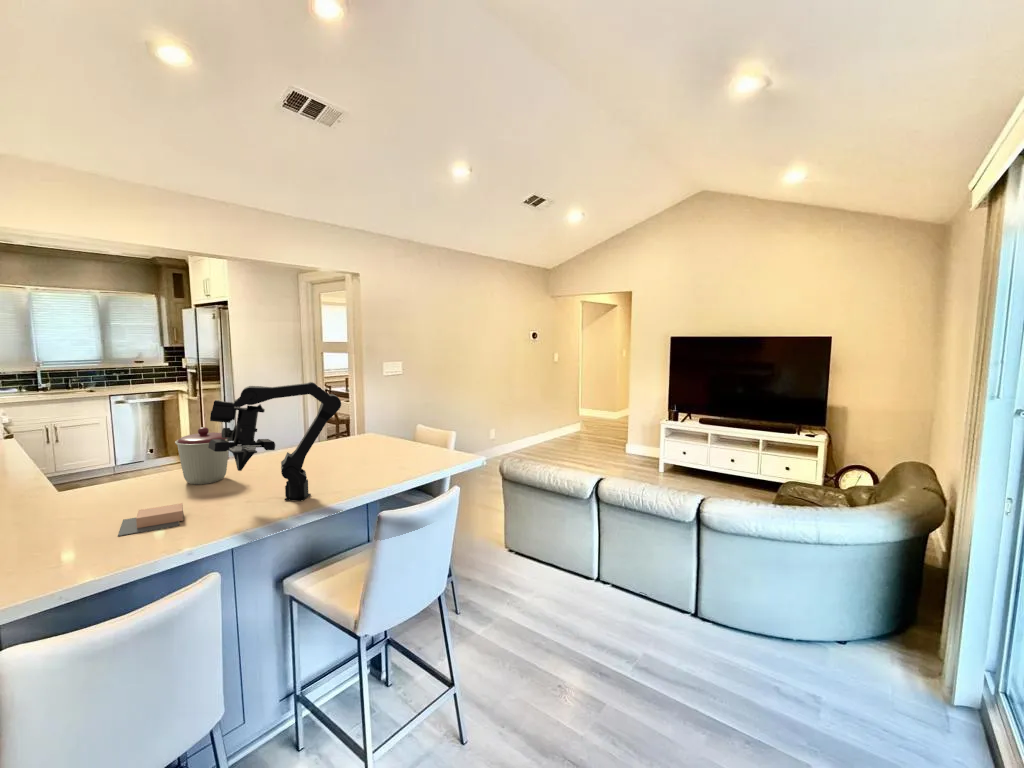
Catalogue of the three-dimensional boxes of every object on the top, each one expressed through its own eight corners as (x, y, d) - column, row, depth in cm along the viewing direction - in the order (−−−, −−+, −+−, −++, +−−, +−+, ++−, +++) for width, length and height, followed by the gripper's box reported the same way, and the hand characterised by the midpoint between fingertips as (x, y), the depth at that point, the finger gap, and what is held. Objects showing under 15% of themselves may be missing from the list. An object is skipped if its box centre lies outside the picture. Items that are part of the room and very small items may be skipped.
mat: (179, 511, 151) (179, 510, 151) (179, 525, 140) (178, 524, 140) (123, 520, 143) (123, 519, 143) (117, 536, 132) (117, 535, 132)
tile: (182, 503, 149) (138, 509, 143) (182, 510, 142) (136, 518, 136) (183, 512, 149) (139, 520, 143) (183, 520, 143) (136, 528, 136)
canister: (214, 471, 195) (212, 421, 193) (243, 477, 188) (240, 425, 186) (167, 483, 179) (163, 429, 177) (196, 490, 171) (192, 433, 169)
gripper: (264, 420, 168) (257, 463, 168) (205, 418, 153) (198, 466, 153) (279, 426, 161) (272, 471, 161) (219, 425, 146) (211, 474, 147)
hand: (239, 470), depth 156 cm, fingers closed
